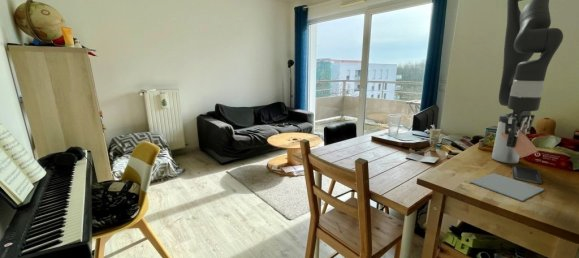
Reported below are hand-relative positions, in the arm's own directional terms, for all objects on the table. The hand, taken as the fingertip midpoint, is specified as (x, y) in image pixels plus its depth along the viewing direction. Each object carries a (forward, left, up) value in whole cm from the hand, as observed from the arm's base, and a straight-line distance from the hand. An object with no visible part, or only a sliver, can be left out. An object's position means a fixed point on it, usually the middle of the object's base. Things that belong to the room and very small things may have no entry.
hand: (514, 145), depth 84 cm
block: (0, +4, -2) cm, 5 cm away
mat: (0, 0, -15) cm, 15 cm away
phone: (-18, -1, -16) cm, 24 cm away
